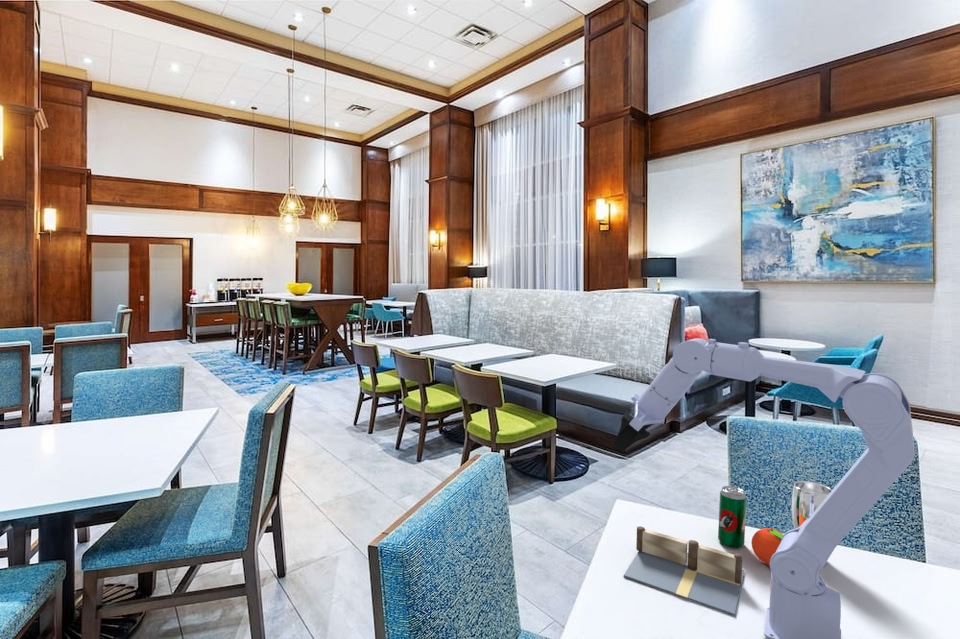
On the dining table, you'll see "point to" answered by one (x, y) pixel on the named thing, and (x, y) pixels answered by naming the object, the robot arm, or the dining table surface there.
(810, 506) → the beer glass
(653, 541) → the panel
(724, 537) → the soda can
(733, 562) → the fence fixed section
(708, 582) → the card
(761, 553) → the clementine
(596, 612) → the dining table surface
